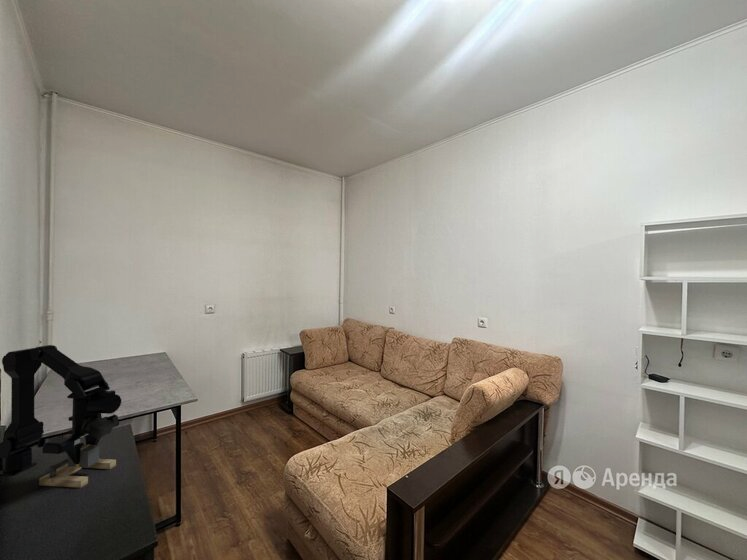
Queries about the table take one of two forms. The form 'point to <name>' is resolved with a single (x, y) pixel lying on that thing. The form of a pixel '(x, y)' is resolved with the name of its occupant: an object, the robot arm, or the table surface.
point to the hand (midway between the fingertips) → (83, 460)
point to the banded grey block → (86, 456)
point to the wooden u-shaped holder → (62, 474)
